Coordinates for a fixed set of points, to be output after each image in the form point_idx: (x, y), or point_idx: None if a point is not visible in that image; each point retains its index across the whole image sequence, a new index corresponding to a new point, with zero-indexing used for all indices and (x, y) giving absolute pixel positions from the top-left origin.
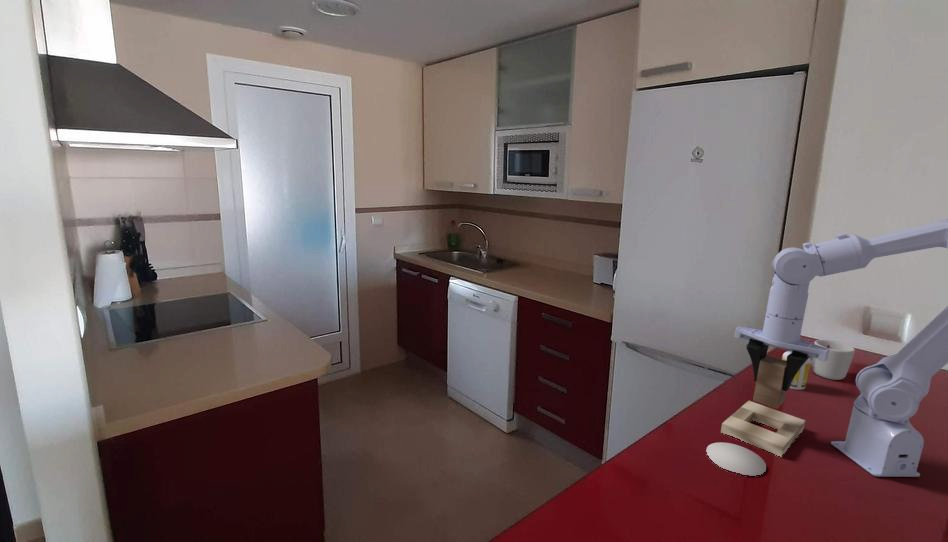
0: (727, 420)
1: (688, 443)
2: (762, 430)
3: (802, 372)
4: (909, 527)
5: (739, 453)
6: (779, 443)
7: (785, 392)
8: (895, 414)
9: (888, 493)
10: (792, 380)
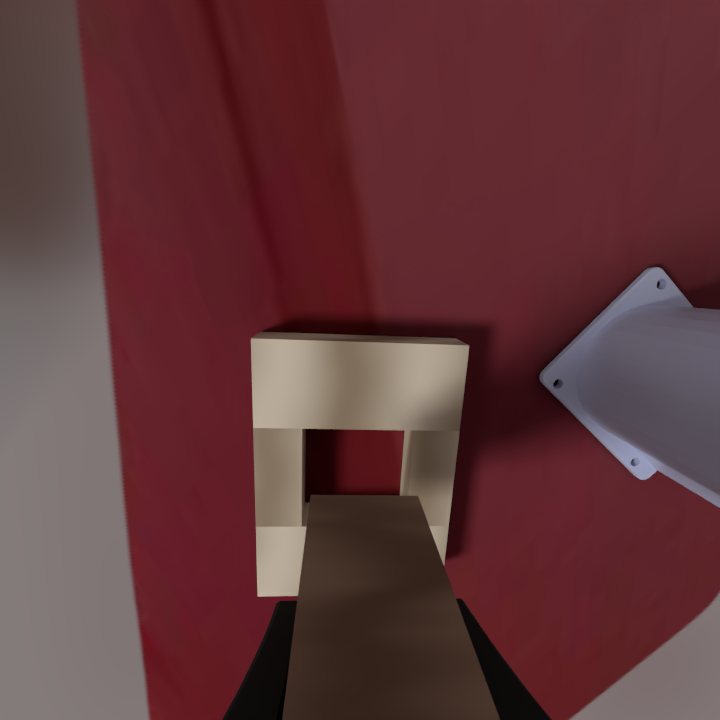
0: (262, 567)
1: (230, 676)
2: None
3: None
4: (675, 617)
5: None
6: None
7: (431, 537)
8: None
9: (656, 524)
10: (493, 647)
